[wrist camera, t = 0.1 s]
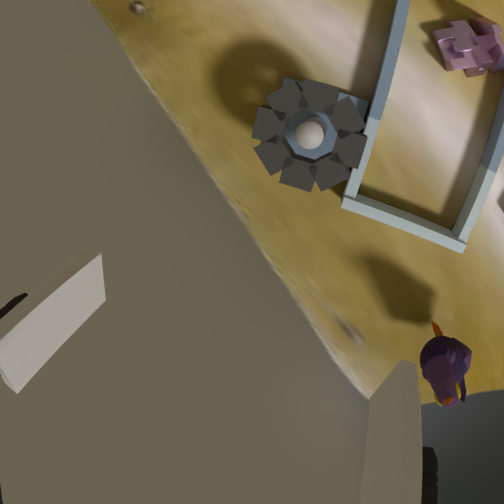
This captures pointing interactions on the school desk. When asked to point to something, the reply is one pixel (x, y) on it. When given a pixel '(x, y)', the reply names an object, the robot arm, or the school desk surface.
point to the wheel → (300, 167)
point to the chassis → (324, 135)
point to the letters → (471, 46)
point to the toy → (445, 367)
